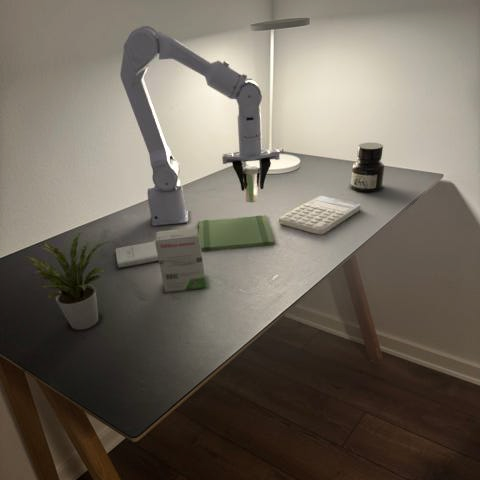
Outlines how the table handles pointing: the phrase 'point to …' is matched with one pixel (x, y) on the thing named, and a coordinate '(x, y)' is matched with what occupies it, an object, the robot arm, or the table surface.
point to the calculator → (320, 214)
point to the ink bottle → (368, 168)
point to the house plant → (73, 285)
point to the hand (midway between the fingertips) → (252, 188)
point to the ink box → (180, 259)
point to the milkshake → (251, 183)
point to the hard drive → (136, 254)
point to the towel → (235, 233)
